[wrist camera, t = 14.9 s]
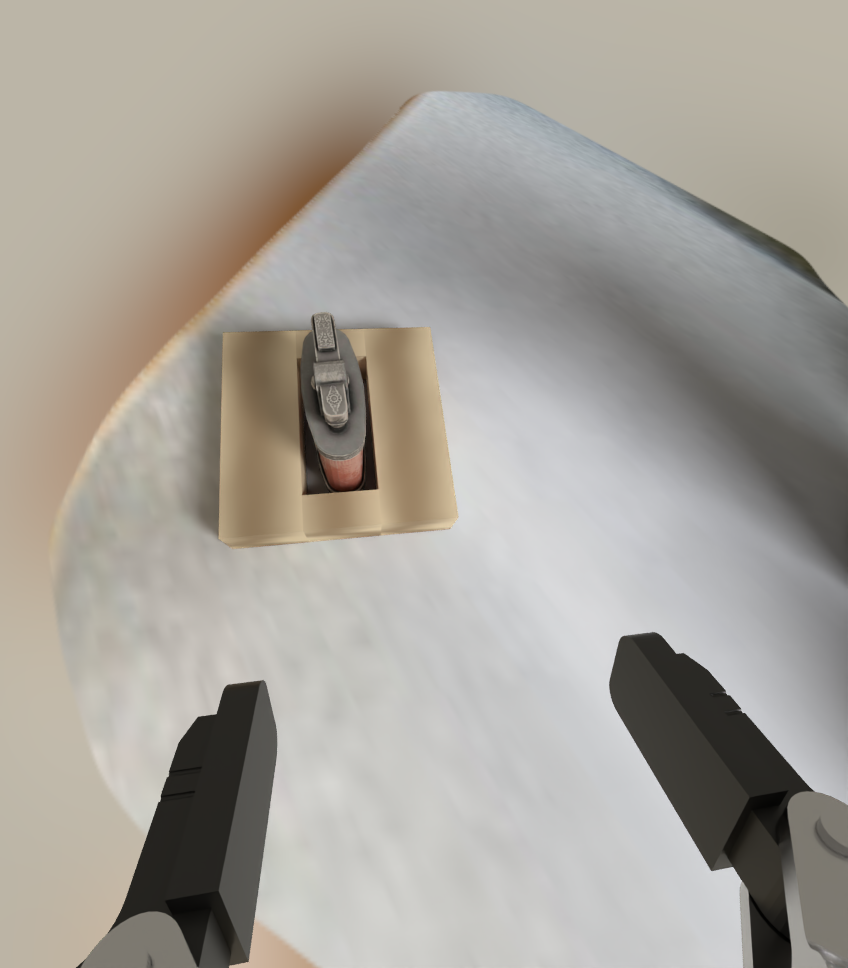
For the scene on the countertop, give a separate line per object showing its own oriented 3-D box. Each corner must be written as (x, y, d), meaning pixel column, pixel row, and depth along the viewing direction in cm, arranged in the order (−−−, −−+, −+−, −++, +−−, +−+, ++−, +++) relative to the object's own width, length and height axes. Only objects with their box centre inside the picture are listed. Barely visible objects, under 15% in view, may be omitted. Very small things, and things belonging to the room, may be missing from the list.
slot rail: (425, 352, 36) (430, 327, 33) (450, 528, 31) (458, 517, 28) (234, 358, 34) (222, 332, 31) (232, 548, 29) (218, 538, 26)
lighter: (372, 494, 31) (375, 430, 22) (322, 502, 31) (303, 439, 21) (356, 391, 34) (352, 293, 25) (309, 396, 33) (286, 298, 24)
